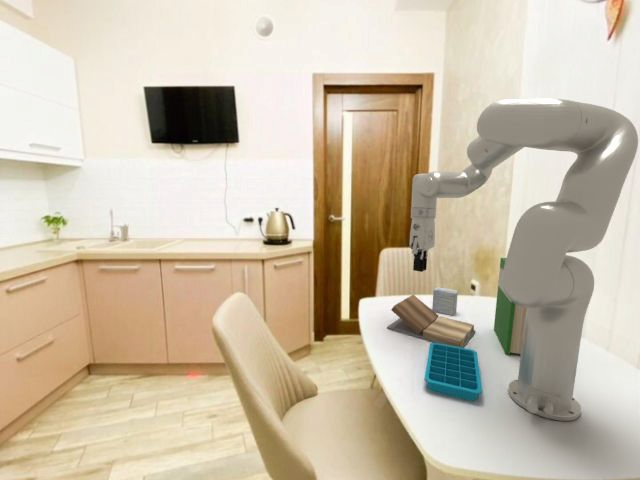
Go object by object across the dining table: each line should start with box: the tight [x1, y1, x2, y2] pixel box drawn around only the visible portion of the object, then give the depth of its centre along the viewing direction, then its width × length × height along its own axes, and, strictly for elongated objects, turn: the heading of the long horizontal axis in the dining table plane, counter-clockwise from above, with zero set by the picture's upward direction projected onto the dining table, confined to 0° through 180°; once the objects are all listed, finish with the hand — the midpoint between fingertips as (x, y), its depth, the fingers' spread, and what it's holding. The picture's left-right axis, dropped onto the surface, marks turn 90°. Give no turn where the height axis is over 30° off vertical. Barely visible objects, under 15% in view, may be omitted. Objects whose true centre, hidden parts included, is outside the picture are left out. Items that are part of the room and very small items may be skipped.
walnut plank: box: [391, 294, 440, 334], centre depth 104 cm, size 15×11×2 cm
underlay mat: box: [386, 317, 476, 348], centre depth 101 cm, size 16×23×1 cm
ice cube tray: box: [424, 342, 483, 402], centre depth 77 cm, size 12×20×3 cm, turn 157°
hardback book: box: [493, 257, 527, 357], centre depth 92 cm, size 18×7×24 cm, turn 161°
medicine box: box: [431, 287, 459, 316], centre depth 117 cm, size 8×4×9 cm, turn 58°
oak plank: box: [423, 316, 475, 347], centre depth 98 cm, size 15×11×2 cm
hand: (419, 269), depth 102 cm, fingers closed
